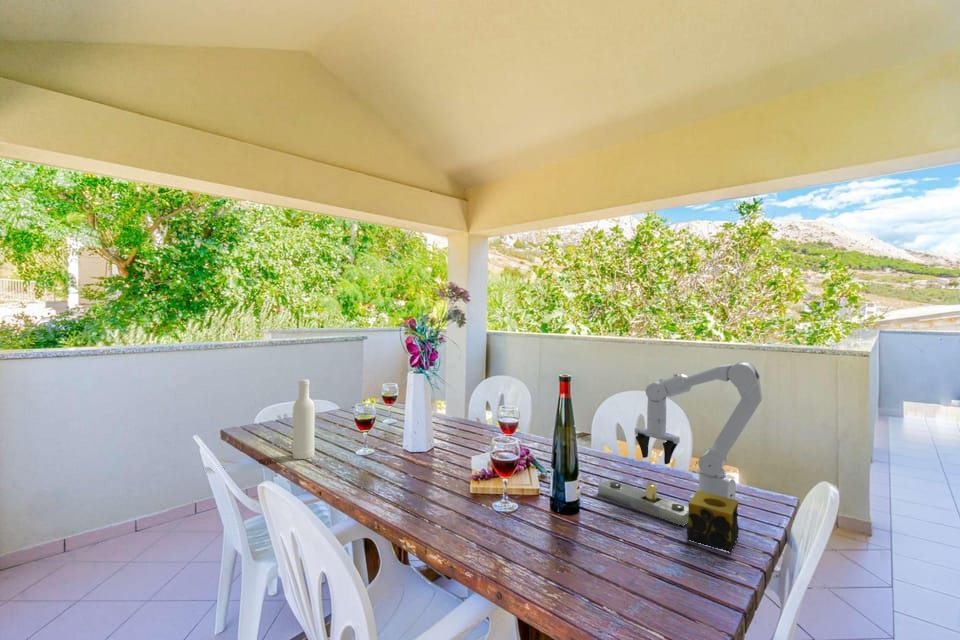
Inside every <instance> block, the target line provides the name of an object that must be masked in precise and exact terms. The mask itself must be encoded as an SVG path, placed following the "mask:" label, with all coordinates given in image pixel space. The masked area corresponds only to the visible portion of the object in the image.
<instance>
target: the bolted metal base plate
mask: <svg viewBox="0 0 960 640" xmlns="http://www.w3.org/2000/svg"><path fill="white" fill-rule="evenodd" d="M597 494H598V495H600V496H602V497H605V498H608V499H610V500H613V501H615V502H618V503H620V504H622V503H623V504H622V505H625V504H626V506H628V505H629V506H628V507H630V506H632V507H631V508H633V507H635V508H637V509H636V510H638V509H639V510H638V511H640V510H642V511H641V512H643V511H644V512H643V513H645V512H647V513H646V514H648V513H649V514H648V515H651V514H652V515H651V516H653V515H654V517H656V516H657V517H656V518H658V517H660V518H659V519H661V518H662V519H661V520H663V519H665V520H664V521H666V520H668V521H670V522H669V523H671V522H673V523H672V524H674V523H676V524H678V525H677V526H679V525H682V526H683V525H684V524H686V523H688V514H689V513H688V511H689V507H688V506H687V505H684V504H682V503H680V502H676V501H674V500H671V499H668V498H665V497H663V496H659V495H657V502H656V503H652V502H649V501H647V500H646V490H642V489H639V488H636V487H634V486H630V485H628V484H625V483H622V482H620V481H617V480H614V479H609V480H606V481H604V482H601V483H599V484H598V486H597ZM635 508H634V509H635ZM668 521H667V522H668ZM676 524H675V525H676ZM686 525H687V524H686ZM683 527H684V526H683Z"/></svg>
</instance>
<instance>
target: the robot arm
mask: <svg viewBox="0 0 960 640" xmlns="http://www.w3.org/2000/svg"><path fill="white" fill-rule="evenodd" d="M760 377H761V376H760V374H759V372H758V370H757V369H756V367H755V365H753V364H752V363H750V362H748V361H739V362H737V363H736V364H735V363H729V364H724V365H717V366H716V367H713V368H710V369H707V370H704V371H701V372H698V373H695V374H692V375H686V374H683V373H681V374H679V373H678V372H677V373H675V374H673V376H671V377H668V378H665V379H664V378H660V379H659V380H658V381H655V382H651V383H650V384H648V386H646V389H645V395H646V397H647V409H646V410H647V411H646V414H647V417H646V418H647V419H646V421H647V422H646V423H647V424H646V428H644V427H639V426H638V427H635V428H634V434H635V435H636V436H635V439H636V441H637V444H638V445H639V448H640V451H641V456H642V458H643V459H646V458H648V457H649V445H650V438H653V439H657V440H661V441H664V442H662V446H663V453H664V454H663V455H664V458H663V462H664V464H665V465H669V464H670V463H671V460H672V456H673V453H674V451H675V449H676V448H677V447H678V444H680V442H681V441H680V440H681V439H680V436H678V435H676V434H675V435H674V434H671V433H669V432H667V398H668V397H670V398H671V397H674V396H677V395H681V394H684V393H687V392H690V391H691V389H692V387H693V386H697V385H700V384H705V383H708V382H713V381H715V380H719V381H722V382H728V381H730V382H731V383H732V384H733V385H734V386H735V388H737V391H738V393H739V395H740V401H739V402H738V404H737V405H736V407H735V408H734V410H733V411H732V413H731V415H730V416H729V418H728V419H727V421H726V423H725V424H724V426H723V427H722V429H721V431H720V432H719V434H718V435H717V437H716V439H715V440H714V442H713V444H712V446H711V447H709V448H708V449H706V450H705V451H704V453H703V454H702V456H700V457H699V459H698V463H697V464H698V468H699V470H698V491H702V492H706V493H710V494H713V495H718V496H722V497H725V498H729V499H734V500H736V492H737V491H736V481H735V479H733V478H731V477H730V476H727V472H726V471H725V469H724V467H725V466H726V463H727V456H728V455H729V452H730V451H731V449H732V448H733V446H734V444H735V443H736V441H737V440H738V438H739V437H740V435H741V433H742V432H743V431H744V429H745V427H746V425H747V424H748V423H749V421H750V420H751V418H752V416H753V414H754V413H755V412H756V410H757V408H758V407H759V405H760V404H761V402H762V399H763V394H762V387H761V379H760Z"/></svg>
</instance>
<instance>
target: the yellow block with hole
mask: <svg viewBox="0 0 960 640" xmlns="http://www.w3.org/2000/svg"><path fill="white" fill-rule="evenodd" d="M687 505H688V507H689V511H688V513H689V514H688V524H686V526H687V527H686V528H687V529H686V535H687V537H686V539H688V540H691V541H694V542H697V543H701V544H704V545H708V546H711V547H714V548H718V549H723V550H726V551H729V552H731V551H732V549H733V550H734V548H733V546H734V545H735V544H736V543H735V541H736V539H737V538H738V539H739V528H740V527H739V524H738V523H739V522H738V516H739V513H738V507H739V500H737V499H735V500H734V499H729V498H725V497H722V496H718V495H713V494H710V493H706V492H702V491H699V490H696V492H695V493H694V495H693V497H692V498H691V499H690V500H689V502H688V504H687ZM688 540H687V541H688ZM736 542H737V541H736ZM735 546H736V545H735ZM735 546H734V547H735ZM732 552H733V551H732Z"/></svg>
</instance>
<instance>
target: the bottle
mask: <svg viewBox="0 0 960 640" xmlns="http://www.w3.org/2000/svg"><path fill="white" fill-rule="evenodd" d="M298 381H299V382H298V399H296V401H295V402H294V404H293V406H292V458H293V459H294V460H297V459H304V460H308V459H307V458H309V459H312V458H313V457H314V456H315V449H316V447H315V422H316V421H315V417H316V416H315V413H316V411H315V410H316V409H315V407H316V406H315V403H314V401H313V400H312V399H311V397H310V380H309V379H300V380H298ZM311 457H312V458H311Z"/></svg>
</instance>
